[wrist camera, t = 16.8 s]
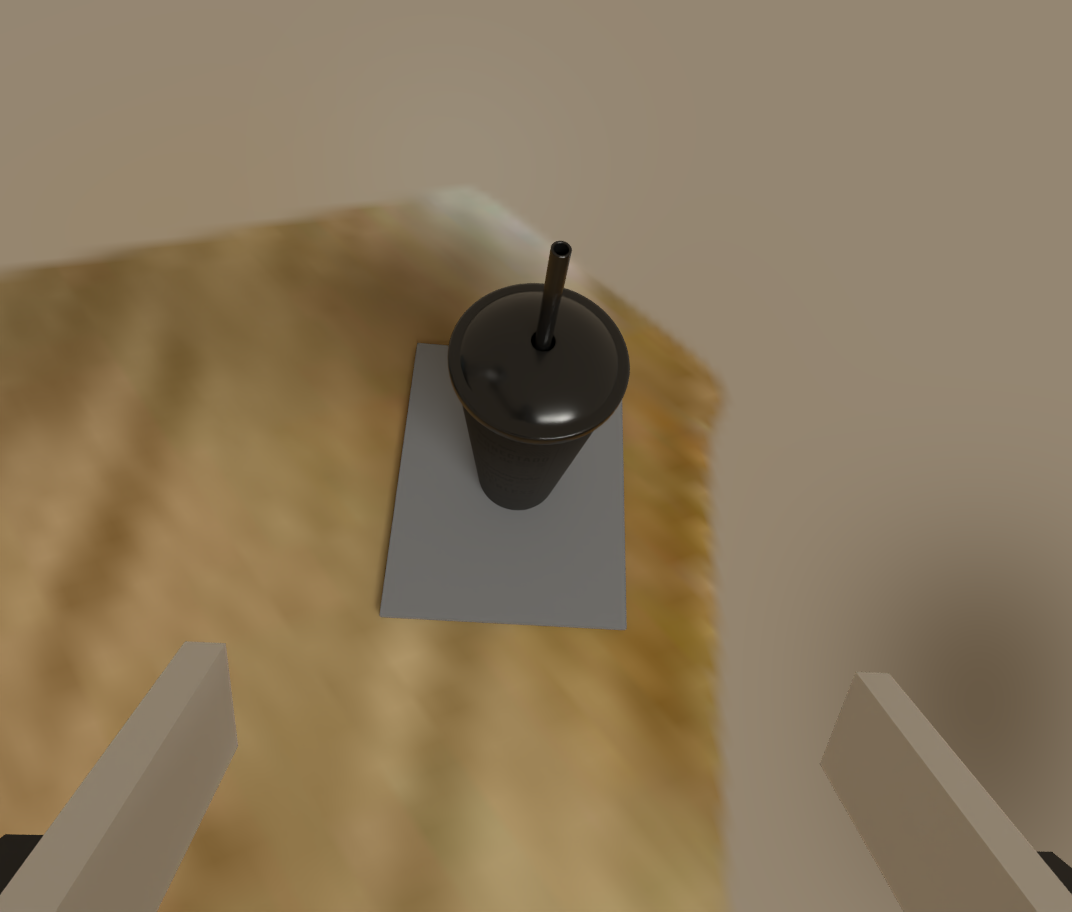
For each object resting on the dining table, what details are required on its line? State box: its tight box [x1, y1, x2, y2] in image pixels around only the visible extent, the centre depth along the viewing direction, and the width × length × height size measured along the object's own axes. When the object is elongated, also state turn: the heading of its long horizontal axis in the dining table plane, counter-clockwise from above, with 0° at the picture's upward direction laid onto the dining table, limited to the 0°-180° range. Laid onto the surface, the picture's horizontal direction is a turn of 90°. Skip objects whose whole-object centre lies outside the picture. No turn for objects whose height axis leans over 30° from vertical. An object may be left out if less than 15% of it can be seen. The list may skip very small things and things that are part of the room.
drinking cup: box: [448, 241, 630, 510], centre depth 28 cm, size 8×8×20 cm
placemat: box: [379, 343, 626, 630], centre depth 38 cm, size 14×18×1 cm
